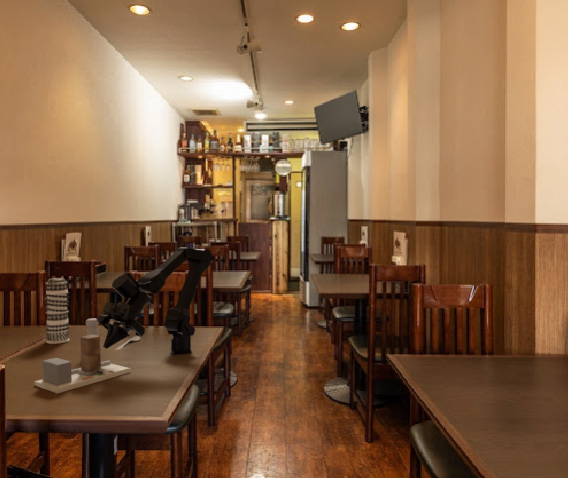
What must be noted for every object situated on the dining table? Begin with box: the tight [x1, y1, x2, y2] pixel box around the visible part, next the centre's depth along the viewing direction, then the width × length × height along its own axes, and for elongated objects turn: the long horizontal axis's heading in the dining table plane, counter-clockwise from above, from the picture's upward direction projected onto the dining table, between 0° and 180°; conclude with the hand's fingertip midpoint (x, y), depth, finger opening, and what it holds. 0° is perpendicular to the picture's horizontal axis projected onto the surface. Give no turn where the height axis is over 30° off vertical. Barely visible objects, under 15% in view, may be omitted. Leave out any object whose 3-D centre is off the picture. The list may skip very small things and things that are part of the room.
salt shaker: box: [85, 317, 102, 352], centre depth 178 cm, size 6×6×13 cm
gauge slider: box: [77, 335, 104, 376], centre depth 152 cm, size 5×9×11 cm, turn 53°
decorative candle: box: [44, 277, 71, 345], centre depth 201 cm, size 9×9×25 cm
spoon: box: [115, 335, 141, 351], centre depth 194 cm, size 4×21×2 cm, turn 171°
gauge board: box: [34, 357, 131, 394], centre depth 152 cm, size 24×12×7 cm, turn 143°
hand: (104, 347), depth 157 cm, fingers closed
